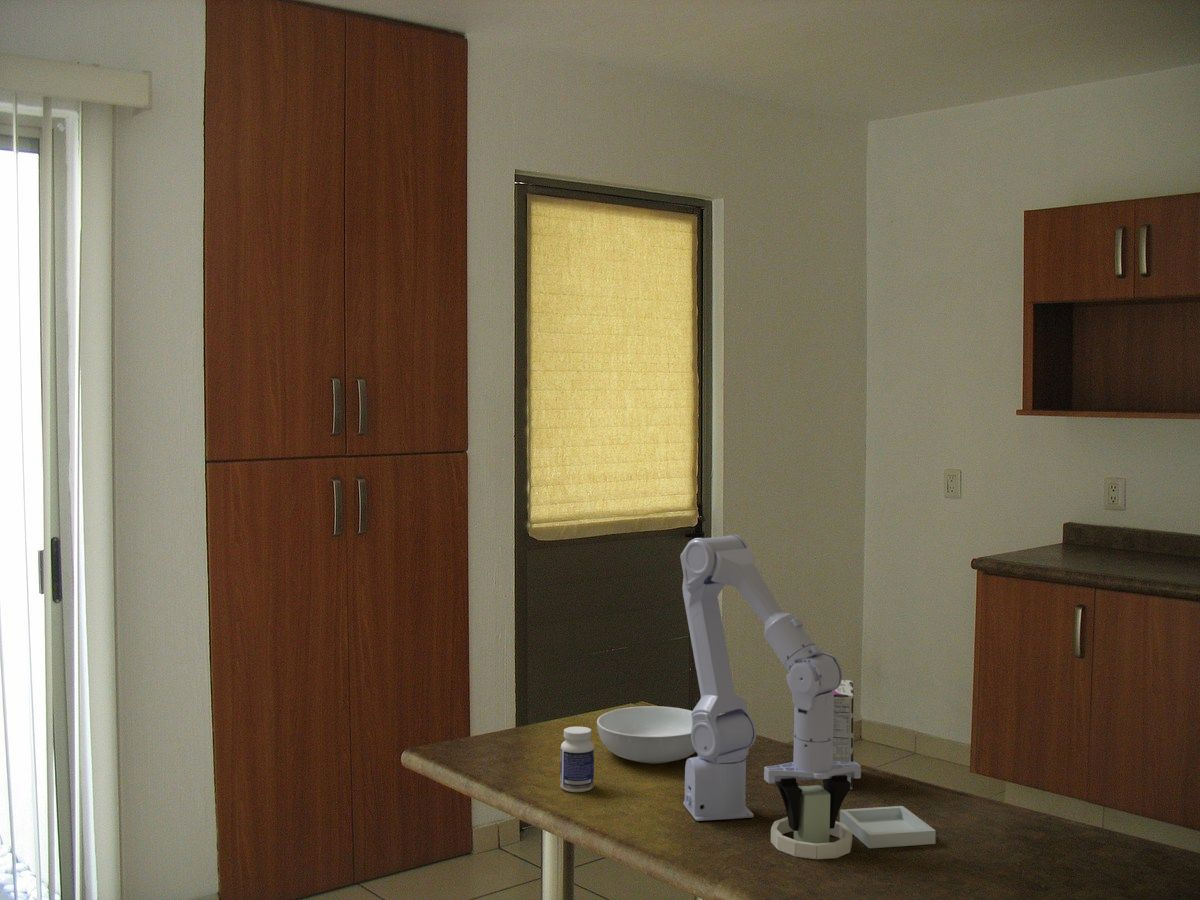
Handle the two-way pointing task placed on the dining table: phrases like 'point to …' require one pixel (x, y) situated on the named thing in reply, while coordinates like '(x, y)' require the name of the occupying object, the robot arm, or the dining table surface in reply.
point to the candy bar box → (843, 724)
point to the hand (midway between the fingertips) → (811, 827)
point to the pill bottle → (577, 760)
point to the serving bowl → (647, 733)
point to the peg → (813, 815)
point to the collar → (809, 848)
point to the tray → (887, 827)
